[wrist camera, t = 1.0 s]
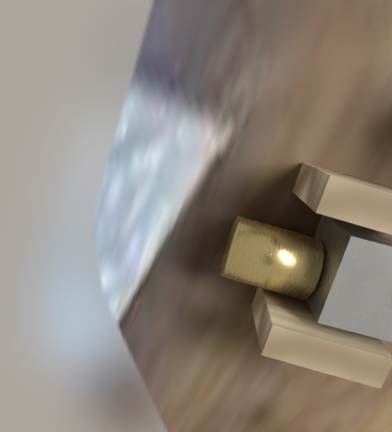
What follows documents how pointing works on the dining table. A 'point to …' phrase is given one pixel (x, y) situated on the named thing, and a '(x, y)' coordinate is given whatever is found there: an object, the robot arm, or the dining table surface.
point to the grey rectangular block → (354, 279)
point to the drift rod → (272, 258)
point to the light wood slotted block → (299, 309)
